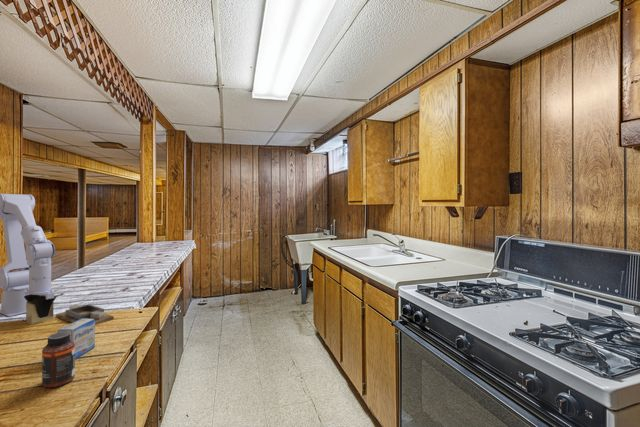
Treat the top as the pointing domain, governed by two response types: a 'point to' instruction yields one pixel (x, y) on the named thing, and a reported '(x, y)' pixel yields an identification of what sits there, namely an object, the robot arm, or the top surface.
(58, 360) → the supplement bottle
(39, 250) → the robot arm
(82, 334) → the medicine box
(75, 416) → the top surface
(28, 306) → the block
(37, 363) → the top surface
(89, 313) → the brown board
